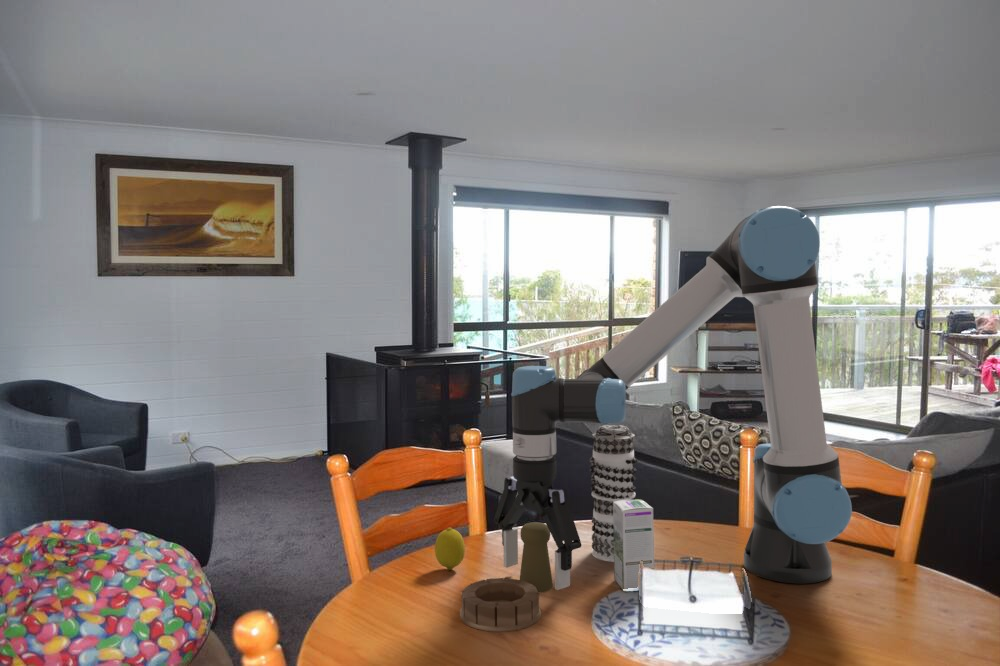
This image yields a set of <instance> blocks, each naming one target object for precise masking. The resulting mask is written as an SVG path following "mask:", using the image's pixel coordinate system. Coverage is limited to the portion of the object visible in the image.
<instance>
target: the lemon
mask: <svg viewBox="0 0 1000 666" xmlns="http://www.w3.org/2000/svg"><path fill="white" fill-rule="evenodd" d="M434 544H435V545H434V553H435V554H434V555H435V557H436V560H437V562H438V563H439V564H440V565H441V567H444V568H446V569H448V571H452V570H453V569H454V568H455V567H457V566H459V565H460V564H461V563H462V562H463V560H464V557H465V552H466V546H465V541H464V537H463V536H462V534H461V533H460V532H459V531H458V530H456V529H454V528H452V527H447V528H446V529H443V530H442V531H441V532H440V533H439V534H438V535H437V536H436V539H435V543H434Z"/></svg>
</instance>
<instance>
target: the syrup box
mask: <svg viewBox="0 0 1000 666" xmlns="http://www.w3.org/2000/svg"><path fill="white" fill-rule="evenodd" d="M613 531H614V562H613V576H614V578H613V579H614V582H615V583H616V584H617V585H618V586H619V588H621V590H622V589H628V588H637V587H638V572H639V564H640V561H641V560H643V566H644V567H649V568H654V569H655V536H654V534H655V533H654V507H652V506H651V505H649V504H648V503H647V502H646V501H644V500H643V499H641V498H640V499H639V498H637V499H636V498H635V499H634V498H633V499H628V500H620V501H613Z"/></svg>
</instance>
